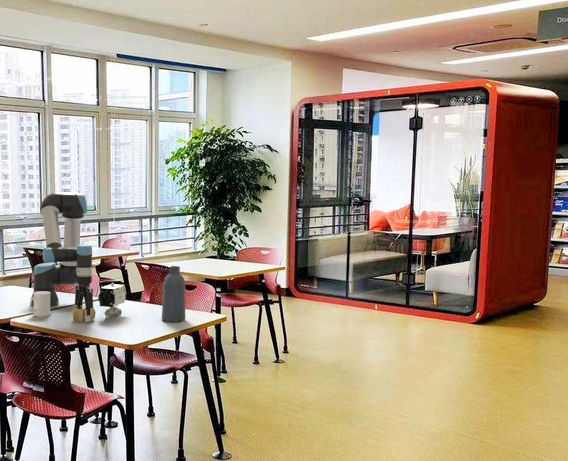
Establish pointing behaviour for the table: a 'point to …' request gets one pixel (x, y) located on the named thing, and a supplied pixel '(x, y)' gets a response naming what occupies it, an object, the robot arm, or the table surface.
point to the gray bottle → (174, 297)
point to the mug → (41, 304)
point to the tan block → (82, 314)
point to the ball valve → (112, 299)
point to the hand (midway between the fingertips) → (83, 320)
